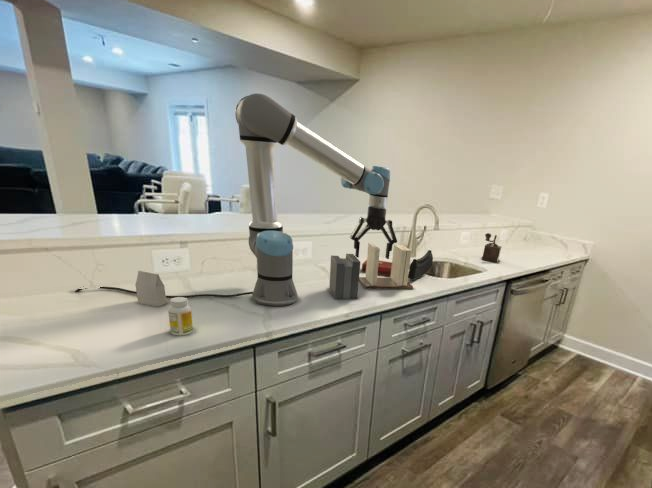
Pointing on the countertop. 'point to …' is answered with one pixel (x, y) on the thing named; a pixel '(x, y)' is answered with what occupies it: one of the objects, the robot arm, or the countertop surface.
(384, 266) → the hardcover book
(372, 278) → the white book
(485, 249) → the manual coffee grinder
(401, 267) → the white books
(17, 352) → the countertop surface
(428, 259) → the magazine
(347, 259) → the grey books
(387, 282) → the shelf board
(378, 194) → the robot arm
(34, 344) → the countertop surface
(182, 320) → the supplement bottle
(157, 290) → the grey stone
